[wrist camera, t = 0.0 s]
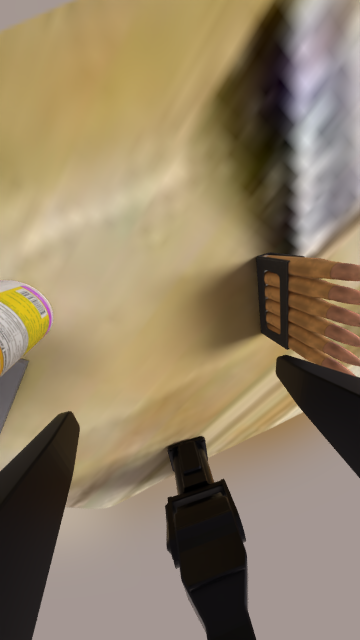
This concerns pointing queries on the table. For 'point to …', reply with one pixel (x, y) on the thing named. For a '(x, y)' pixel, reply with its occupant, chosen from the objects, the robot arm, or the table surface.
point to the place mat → (10, 388)
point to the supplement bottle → (21, 321)
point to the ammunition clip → (308, 307)
